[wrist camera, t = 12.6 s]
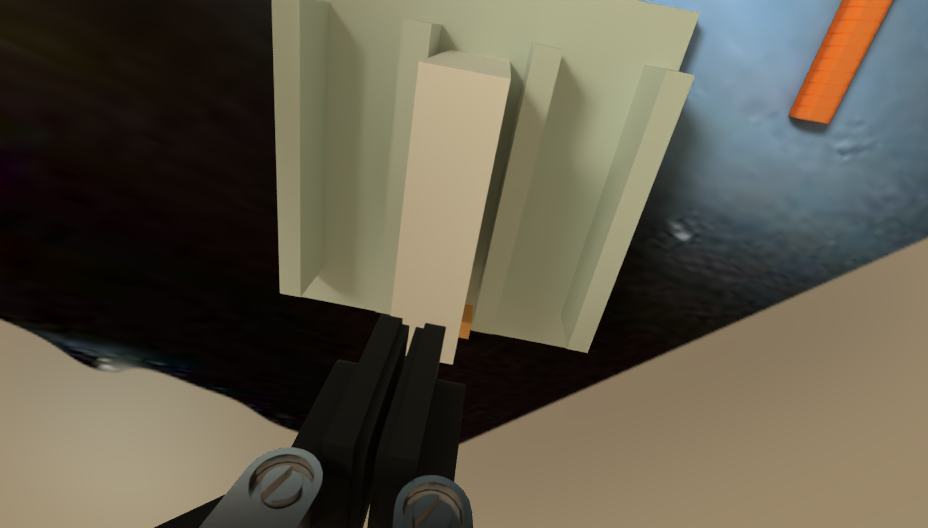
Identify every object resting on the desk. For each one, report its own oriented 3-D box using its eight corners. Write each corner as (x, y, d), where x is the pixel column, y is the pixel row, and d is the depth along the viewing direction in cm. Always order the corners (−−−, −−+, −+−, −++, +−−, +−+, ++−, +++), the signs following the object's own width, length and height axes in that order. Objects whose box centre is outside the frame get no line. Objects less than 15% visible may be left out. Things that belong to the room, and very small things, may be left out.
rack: (304, -63, 22) (256, -84, 18) (690, 13, 22) (733, 9, 18) (304, 286, 31) (272, 326, 27) (573, 338, 31) (583, 386, 27)
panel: (450, 49, 22) (418, 61, 14) (510, 61, 22) (510, 79, 14) (421, 259, 28) (386, 351, 20) (468, 269, 28) (452, 364, 20)
